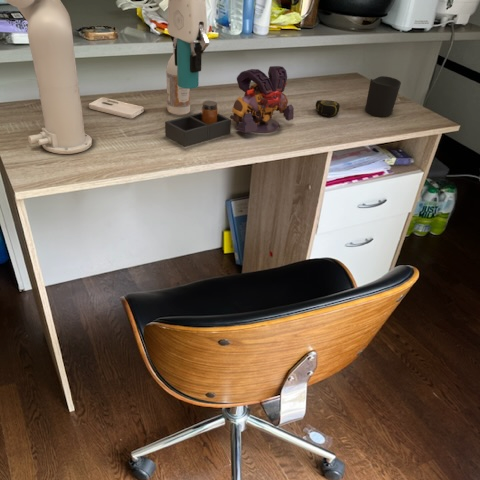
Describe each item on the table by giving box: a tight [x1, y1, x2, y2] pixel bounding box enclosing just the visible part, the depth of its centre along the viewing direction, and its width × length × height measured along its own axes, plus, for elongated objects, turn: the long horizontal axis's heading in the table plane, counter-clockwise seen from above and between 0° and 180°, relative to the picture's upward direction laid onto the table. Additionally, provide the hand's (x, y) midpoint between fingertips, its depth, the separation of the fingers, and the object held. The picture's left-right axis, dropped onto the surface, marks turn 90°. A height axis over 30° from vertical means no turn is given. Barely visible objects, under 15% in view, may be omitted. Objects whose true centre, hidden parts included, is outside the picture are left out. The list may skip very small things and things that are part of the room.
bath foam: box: [165, 46, 191, 115], centre depth 154 cm, size 7×7×20 cm
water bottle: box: [177, 38, 200, 90], centre depth 131 cm, size 5×5×15 cm
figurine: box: [229, 65, 295, 134], centre depth 150 cm, size 20×14×17 cm
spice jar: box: [201, 100, 219, 125], centre depth 147 cm, size 4×4×8 cm
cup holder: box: [164, 112, 232, 148], centre depth 146 cm, size 16×9×5 cm, turn 133°
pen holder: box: [364, 75, 402, 118], centre depth 169 cm, size 9×9×10 cm
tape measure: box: [315, 99, 341, 117], centre depth 167 cm, size 7×7×4 cm
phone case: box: [88, 96, 145, 119], centre depth 158 cm, size 7×1×15 cm
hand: (187, 67), depth 133 cm, fingers closed on water bottle, 5 cm apart
